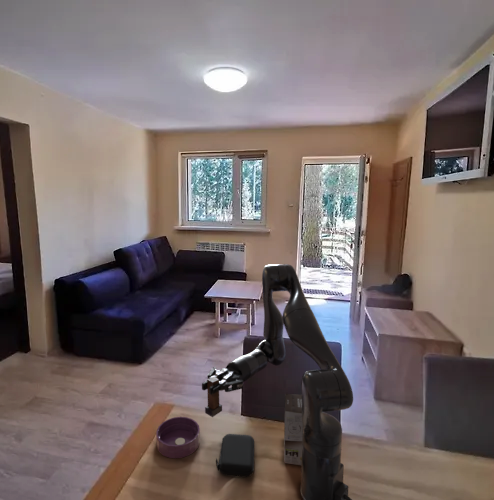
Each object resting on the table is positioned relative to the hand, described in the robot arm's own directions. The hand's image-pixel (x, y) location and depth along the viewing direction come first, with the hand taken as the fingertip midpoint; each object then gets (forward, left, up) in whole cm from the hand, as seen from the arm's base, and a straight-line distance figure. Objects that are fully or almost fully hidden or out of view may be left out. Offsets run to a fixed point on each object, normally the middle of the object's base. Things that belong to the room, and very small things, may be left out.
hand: (206, 389), depth 102 cm
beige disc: (+4, +8, -16) cm, 18 cm away
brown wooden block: (0, -3, -9) cm, 9 cm away
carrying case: (-12, 0, -17) cm, 21 cm away
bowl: (+5, +8, -17) cm, 19 cm away
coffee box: (-23, -13, -17) cm, 32 cm away
